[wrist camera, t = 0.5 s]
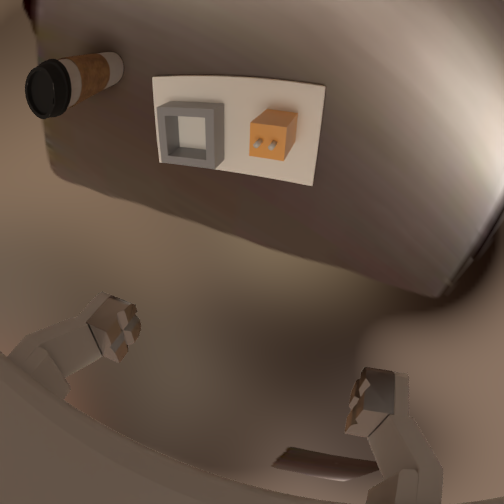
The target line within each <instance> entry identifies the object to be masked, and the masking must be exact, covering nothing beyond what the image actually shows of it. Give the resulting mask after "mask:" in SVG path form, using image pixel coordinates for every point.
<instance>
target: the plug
mask: <svg viewBox="0 0 504 504" xmlns="http://www.w3.org/2000/svg"><path fill="white" fill-rule="evenodd" d="M297 118H298V113H294V112H287V111H280V110H272V109H266V110H265V111H264V112H262V113H261V114H260V115H259V116H258V117H256V118H255V119H254V120H253V121H252V122H250V144H249V156H254V157H260V158H267V159H273V160H279V161H284V160H285V159H286V157H287V155H288V153H289V152H290V150H291V148H292V146H293V145H294V143H295V139H296V129H297Z"/></svg>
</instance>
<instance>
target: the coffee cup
mask: <svg viewBox="0 0 504 504" xmlns="http://www.w3.org/2000/svg"><path fill="white" fill-rule="evenodd" d="M123 71H124V66H123V61H122V59H121V57H120V56H119V55H118V54H116V53H114V52H104V53H96V54H86V55H79V56H72V57H65V58H61V59H58V60H56V59H49V60H47V61H44V62H42V63H41V64H40V65H39V66H37V67H35V68H34V69H32V70H31V72H30V73H29V75H28V76H27V79H26V84H25V94H26V99H27V102H28V105H29V107H30V109H31V110H32V112H33V113H34V114H35V115H36V116H37V117H39V118H41V119H46V118H49V117H57V116H59V115H61V114H63V113H64V112H65V111H66V109H68V108H71V107H73V106H75V105H76V104H78V103H80V102H82V101H83V100H85V99H87V98H89V97H91V96H93V95H94V94H96V93H98V92H100V91H102V90H104V89H106V88H108V87H110V86H112V85H114V84H116V83H117V82H119V80H120V79H121V77H122V75H123Z"/></svg>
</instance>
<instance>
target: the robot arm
mask: <svg viewBox="0 0 504 504" xmlns="http://www.w3.org/2000/svg"><path fill="white" fill-rule="evenodd" d="M136 313H137V308H136V305H135V304H132V303H130V302H127V301H125V300H122V299H120V298H117V297H114V296H112V295H110V294H107V293H104V292H101V293H98V295H97V296H96V297H95V298H94V299H93V300H92V301H91V302H90V303H89V304H88V305H87V306H86V307H85V308H84V309H83V311H82V312H81V313H80V314H79V315H78V316H77V317H76V318H74V317H72V318H69V319H66V320H64V321H61V322H59V323H57V324H54V325H51V326H49V327H46V328H44V329H41V330H39V331H36V332H34V333H31V334H29V335H26V336H25V337H24V338H23V339H22V340H21V342H20V343H19V344H18V345H17V346H16V347H15V348H14V349H13V351H12V352H11V353H10V354H9V355H8V356H7V357H6V356H5V355H4V354H3V353H2V352H1V351H0V504H349V503H339V502H331V501H324V500H317V499H311V498H305V497H299V496H294V495H290V494H284V493H280V492H276V491H272V490H267V489H263V488H259V487H256V486H252V485H248V484H245V483H241V482H237V481H234V480H231V479H228V478H225V477H222V476H218V475H215V474H213V473H210V472H207V471H204V470H201V469H198V468H196V467H193V466H190V465H188V464H185V463H183V462H180V461H178V460H175V459H173V458H171V457H168V456H166V455H164V454H161V453H159V452H157V451H155V450H152V449H150V448H148V447H146V446H144V445H142V444H140V443H138V442H136V441H134V440H132V439H130V438H128V437H126V436H124V435H122V434H120V433H118V432H116V431H114V430H113V429H111V428H109V427H107V426H105V425H104V424H102V423H100V422H98V421H96V420H95V419H93V418H91V417H90V416H88V415H87V414H85V413H83V412H82V411H80V410H78V409H77V408H75V407H74V406H72V405H71V404H69V403H67V402H66V401H64V398H65V397H66V396H67V394H68V393H69V391H70V390H71V387H70V385H69V383H68V382H67V380H66V379H65V378H66V377H67V376H69V375H71V374H73V373H75V372H76V371H78V370H80V369H82V368H83V367H85V366H87V365H89V364H90V363H92V362H94V361H96V360H98V359H99V358H101V357H102V356H104V357H106V358H109V359H111V360H113V361H115V362H118V363H120V362H121V361H122V359H123V358H124V357H125V355H126V354H127V352H128V345H130V344H132V343H134V342H135V341H136V340H137V338H138V337H139V334H140V331H141V322H140V319H139V318H138V317H137V316H136ZM349 407H350V409H351V412H350V413H349V414H348V416H347V420H346V427H345V434H351V435H356V436H362V437H368V438H367V439H368V442H369V444H370V447H371V449H372V452H373V454H374V457H375V459H376V462H377V464H378V467H379V469H380V471H381V474H382V477H383V479H384V481H383V482H381V483H379V484H378V485H376V486H374V487H372V488H371V489H369V490H368V496H367V501H366V504H441V498H442V484H443V468H442V466H441V464H440V462H439V461H438V459H437V457H436V455H435V454H434V452H433V450H432V448H431V447H430V445H429V443H428V442H427V440H426V438H425V436H424V435H423V433H422V431H421V430H420V428H419V426H418V425H417V423H416V421H415V420H414V418H413V417H409V376H408V374H405V373H398V372H392V371H388V370H382V369H375V368H370V367H364V368H363V370H362V372H361V376H360V379H358V380H357V381H356V382H355V384H354V386H353V389H352V391H351V395H350V400H349ZM459 504H504V497H499V498H493V499H488V500H481V501H475V502H467V503H459Z"/></svg>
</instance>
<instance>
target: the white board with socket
mask: <svg viewBox="0 0 504 504" xmlns="http://www.w3.org/2000/svg"><path fill="white" fill-rule="evenodd" d="M152 80H153V96H154V110H155V122H156V133H157V143H158V153H159V162H162V163H170V164H179V165H187V166H194V167H202V168H209V169H216V170H223V171H230V172H236V173H242V174H249V175H255V176H261V177H266V178H272V179H278V180H283V181H288V182H294V183H299V184H304V185H309V186H312V185H313V181H314V174H315V167H316V160H317V153H318V146H319V139H320V131H321V123H322V115H323V107H324V98H325V89H326V86H324V85H318V84H311V83H304V82H297V81H289V80H280V79H270V78H258V77H244V76H223V75H170V76H155V77H152ZM266 109H272V110H280V111H287V112H294V113H298V118H297V129H296V139H295V143H294V145H293V146H292V148H291V150H290V152H289V153H288V155H287V157H286V159H285V160H284V161H279V160H273V159H267V158H260V157H254V156H249V144H250V122H252V121H253V120H254V119H255V118H256V117H258V116H259V115H260V114H261V113H262V112H264V111H265V110H266Z"/></svg>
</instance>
